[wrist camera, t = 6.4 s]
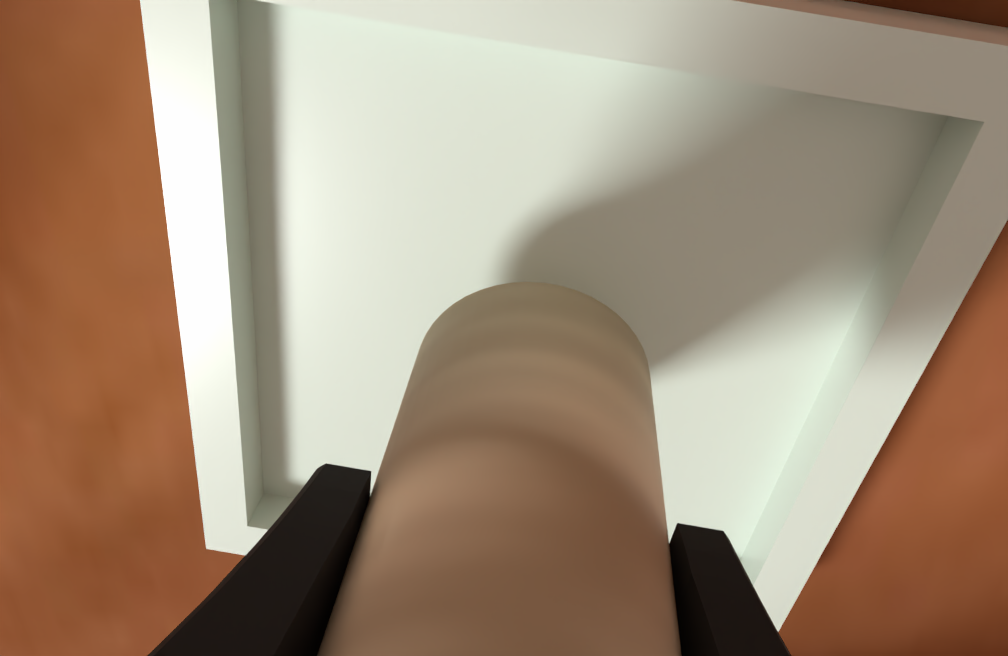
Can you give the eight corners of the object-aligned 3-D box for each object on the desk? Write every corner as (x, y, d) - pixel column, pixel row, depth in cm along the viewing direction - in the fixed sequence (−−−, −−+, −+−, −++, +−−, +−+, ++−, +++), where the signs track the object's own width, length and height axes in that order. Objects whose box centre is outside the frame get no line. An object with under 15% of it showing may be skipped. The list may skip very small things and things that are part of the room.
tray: (237, 491, 19) (206, 548, 17) (188, -109, 12) (127, -100, 10) (756, 580, 19) (771, 644, 17) (1030, 31, 12) (1096, 60, 10)
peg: (413, 455, 14) (255, 1012, 7) (418, 267, 12) (200, 815, 5) (627, 482, 14) (662, 1072, 7) (672, 297, 12) (780, 901, 5)
